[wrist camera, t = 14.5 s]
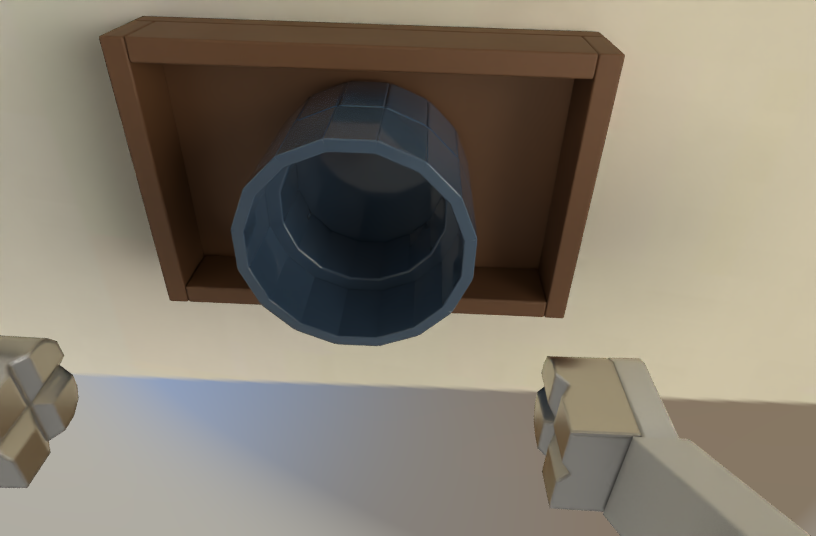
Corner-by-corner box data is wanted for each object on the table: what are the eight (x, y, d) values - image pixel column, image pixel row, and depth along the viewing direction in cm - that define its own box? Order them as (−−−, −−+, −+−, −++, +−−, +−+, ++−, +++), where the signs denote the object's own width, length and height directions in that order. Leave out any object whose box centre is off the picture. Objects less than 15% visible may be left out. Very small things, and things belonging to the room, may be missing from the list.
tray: (196, 259, 19) (169, 301, 17) (141, 15, 15) (97, 35, 13) (550, 273, 19) (563, 318, 17) (600, 31, 15) (625, 54, 13)
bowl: (287, 248, 18) (249, 341, 15) (266, 72, 15) (212, 134, 11) (459, 255, 18) (465, 350, 15) (474, 80, 15) (488, 144, 11)
